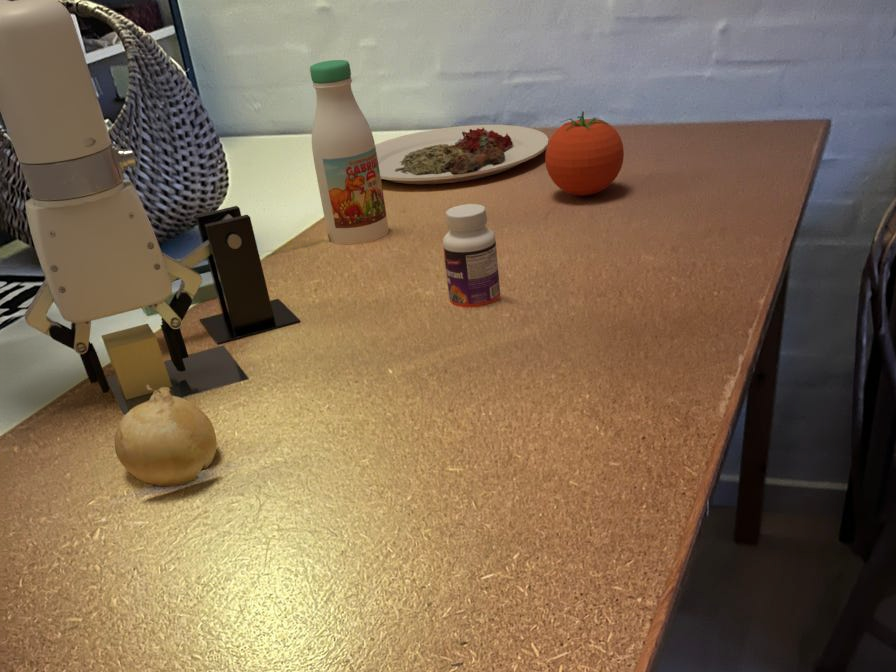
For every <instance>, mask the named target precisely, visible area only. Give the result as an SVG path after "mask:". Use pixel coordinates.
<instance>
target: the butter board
mask: <svg viewBox="0 0 896 672" xmlns="http://www.w3.org/2000/svg"><path fill="white" fill-rule="evenodd" d="M183 362H184V366H185V369H186V371H182V372H180V371H178V370H177V369H176V367H175V366H174V364H173V362H172V360H171V359H168V360H164V363H165V366H166V369H167V372H168V375H169V379H170V382H171V385H172V387H171V388H169V389H170V393H171V396H176V397H180V398H183V399H185V398H187V397H192V396H195V395H198V394H203V393H205V392H208V391H213V390H216V389H221V388H223V387H226V386H230V385H233V384H237V383H240V382H243V381H248V380H250V378H249V376H248V375H247V373H246V372H245V371H244V370H243V368H241V366H240V365H239V364H238V362H237V361H236V360H235V358H234V356H232V354H231V353H230V352H229V351H228V349H227V348H226V347H225V345H223V344H221V345H218V346H216V347H212V348H208V349H204V350H200V351H197V352H194V353H191V354H189V353H188V357H187V358H184V359H183ZM105 377H106V380H107V383H108V385H109V388H110V390H111V392H112V394H113V395H114V398H115V400H116V402H117V404H118V406H119V409H120V410H121V413H122V415H123V416H125V415H126V414H127V413H128V412H129V411H130V410H131V409H133V408H134V407H136V406H137V405H140V404H142V403H144V402H147V401H149V400H150V398H151V396H152V395H153V393H149V394H146V395H142V396H139V397H135V398H132V399H128V400H126V399H125V397H124V395H123V392H122V390H121V388H120V386H119V384H118V381H117V378H116V376H115V374H113V375H109V376H105Z"/></svg>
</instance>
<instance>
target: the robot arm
mask: <svg viewBox="0 0 896 672" xmlns="http://www.w3.org/2000/svg"><path fill="white" fill-rule="evenodd" d="M84 53H85V52H84V50H83V47H82V44H81V41H80V37H79V34H78V31H77V28H76V25H75V22H74V19H73V17H72V15H71V13H70V11H69V9H67V8H66V6H65V5H64V4H63V2H60V1H59V0H0V115H1V117H2V120H3V123H4V125H5V128H6V131H7V134H8V136H9V139H10V142H11V144H12V147H13V149H14V153H15V155H16V158H17V160H18V163H19V166H20V168H21V171H22V174H23V176H24V180H25V182H26V185H27V188H28V190H29V192H30V195H31V198H30V199H27V200H26V201H24V205H25V207H24V208H25V213H26V219H27V222H28V228H29V231H30V235H31V239H32V242H33V245H34V250H35V252H36V256H37V258H38V261H39V263H40V264H39V265H40V267H41V270H42V274H43V276H44V280H43V282H42V284H41V285H40V287H39V289H38V290H37V292H36V294H35V295H34V297H33V299H32V301H31V302H30V304H29V306H28V308H27V309H26V311H25V313H24V319H25V322H26V324H27V325H29V327H31V328H33V329H34V330H37V331H39V332H40V333H42V334H44V335H46V336H48V337H50V338H51V339H52V340H54V341H56V342H57V343H60V344H62V345H64V346H65V347H68V348H70V349H72V350H74V351H75V353H77V354H79V357H80V360H81V362H82V365H83V367H84V370H85V372H86V375H87V377H88V380H89V383H90V384H91V385H93V384H96V383H98V385H99V388H100V390H101V392H102V394H106V393H109V391H111V387H110V385H109V383H108V381H107V378H106V377H107V376H106V375H105V371H104V369H103V366H102V363H101V361H100V358H99V356H98V352H97V351H96V349H95V346H94V344H93V342H90V336H91V327H92V321H97V320H101V319H105V318H109V317H112V316H116V315H120V314H124V313H129V312H131V311H136V310H141V309H142V308H144V307H147V306H152V307H153V308H154V309H155V310H156V311H157V312H158V315H159V316H160V317H161V324H160V328H161V332H162V334H163V338H164V341H165V344H166V347H167V350H168V354H169V356H170V360H172V362H173V364H174V366H175V367H176V369H177V370H178V371H180V372H182V371H186V369H185V366H184V362H183V359H184V358H187V357H188V355H189V352H188V350H187V347H186V344H185V340H184V336H183V333H182V330H181V327H182V326H183V320H184V318H185V316H186V314H187V313H188V311H189V309H190V307H191V306H192V305H191V303H192V299H193V297H194V296H195V294H196V292H197V290H198V288H199V286H200V285H202V281H203V277H202V274H199V273H198V272H197V271H195V270H193V269H192V268H190V267H188V266H186V265H184V264H183V263H181V262H179V261H177V259H175V258H173V257H172V256H170V255H168V254H166V253H164V252H163V251H162V249H161V247H160V244H159V242H158V239H157V236H156V234H155V231H154V228H153V226H152V224H151V221H150V220H149V217H148V215H147V212H146V210H145V207H144V204H143V202H142V200H141V197H140V195H139V193H138V192H137V190H136V188H135V186H134V184H133V182H132V181H131V180H130V179H127V178H124V175H123V174H126V172H125V171H126V170H128V169H129V168H130V167H134V166H137V161H136V158H135V155H134V153H133V150H132V148H126V149H123V148H118V147H116V146H114V145H113V144H112V141H111V140H112V139H111V137H110V134H109V131H108V127H107V124H106V121H105V118H104V115H103V111H102V107H101V105H100V102H99V99H98V98H99V97H98V95H97V92H96V89H95V86H94V82H93V78H92V76H91V73H90V70H89V67H88V63H87V60H86V57H85V54H84ZM169 273H170V274H172V275H173V276H175V277H177V278H179V280H180V281H181V282H180V285H179V288H178V290H177V292H176V291H175V292H176V293H175V295H174V297H173V299H172V301H171V302H170V304H169V303H168V302H167V301H166V299H167V298H168V297H169V296H170V295H171V293H172V292H173V284H172V283H171V280H170V277H169ZM53 303H54V304H55V306H56V308H57V310H58V311H59V313H60V315H61V317H62V318H63V319H64V321H67V322H69V323H70V327H67V326H66V325H64V324H62V323H60V322H57V321H55V320H53V319H52V318H50V317H48V316H47V313H48V312H49V310H50V309H51V307H52V305H53Z"/></svg>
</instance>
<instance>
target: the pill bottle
mask: <svg viewBox="0 0 896 672" xmlns="http://www.w3.org/2000/svg"><path fill="white" fill-rule="evenodd" d="M445 216H446V218H445V219H446V226H447V228H448V229H449V231H448V232H447V233H446V234H445V235H444V236H443V239H442V249H443V257H444V258H443V259H444V264H445V265H444V266H445V273H446V274H445V275H446V281H447V289H448V291H447V292H448V299H449V302H450V303H451V305H453V306H456V307H461V308H476V307H482V306H483V307H484V306H487V305H490V304H492V303H495V302H496V301H498V300H499V299H501V286H500V275H499V263H498V252H497V242H496V235H495V233H494V231H493V230H492V229H491V228H489V227H487V226H486V225H487V223H488V218H487V211H486V207H485V206H484V205H483V204H479V203H478V204H477V203H466V204H459V205H456V206H453V207H451V208H449V209H447V210H446V212H445Z"/></svg>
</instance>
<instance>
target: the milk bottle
mask: <svg viewBox="0 0 896 672" xmlns="http://www.w3.org/2000/svg"><path fill="white" fill-rule="evenodd" d="M309 73H310V78H311V82H312V87H313V88H314V89H315V93H316V105H315V112H314V119H313V124H312V128H311V150H312V157H313V164H314V169H315V174H316V180H317V186H318V190H319V197H320V203H321V207H322V212H323V218H324V222H325V227H326V231H327V237H328V242H330V243H332V244H336V245H340V246H341V245H342V246H352V245H353V246H354V245H361V244H366V243H370V242H374V241H377V240H380V239H382V238H384V237H386V236H387V235H388V234H389V223H388V216H387V208H386V203H385V197H384V191H383V190H384V189H383V185H382V179H381V177H380V171H379V165H378V158H377V153H376V148H375V145H376V142H375V139H374V134H373V132H372V129H371V127H370V124H369V121H368V120H367V119H366V117H365V115H364V113H363V112H362V110H361V108H360V106H359V104H358V102H357V100H356V98H355V96H354V92H353V89H352V82H353V79H352V71H351V64H350V62H349V61H348V60H345V59H333V60H332V59H331V60H324V61H320V62H317V63H313V64H312V65H311V66H310V67H309Z"/></svg>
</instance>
